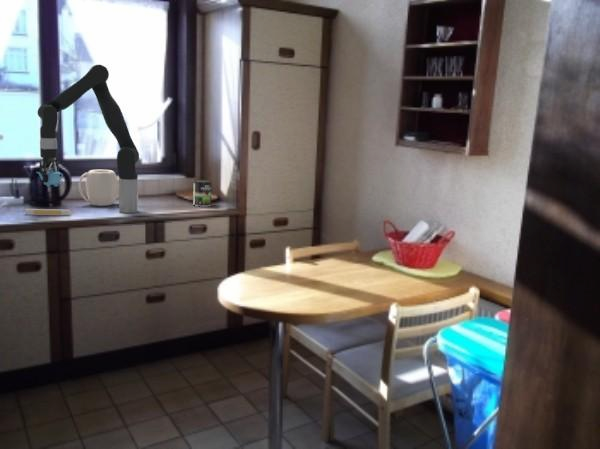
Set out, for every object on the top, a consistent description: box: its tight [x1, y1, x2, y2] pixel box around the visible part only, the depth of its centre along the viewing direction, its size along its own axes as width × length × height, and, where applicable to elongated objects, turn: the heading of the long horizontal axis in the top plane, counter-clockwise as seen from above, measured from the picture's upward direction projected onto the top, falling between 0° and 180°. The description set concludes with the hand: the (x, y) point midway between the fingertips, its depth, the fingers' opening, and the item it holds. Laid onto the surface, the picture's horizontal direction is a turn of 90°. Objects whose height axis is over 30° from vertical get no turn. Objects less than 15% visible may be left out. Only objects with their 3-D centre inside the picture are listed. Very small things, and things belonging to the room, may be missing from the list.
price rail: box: [24, 208, 71, 216], centre depth 269 cm, size 20×2×2 cm, turn 100°
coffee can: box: [192, 179, 213, 208], centre depth 322 cm, size 10×10×14 cm
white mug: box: [77, 168, 119, 207], centre depth 308 cm, size 16×27×19 cm, turn 126°
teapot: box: [36, 170, 64, 187], centre depth 274 cm, size 12×6×8 cm, turn 113°
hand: (49, 181), depth 274 cm, fingers closed on teapot, 8 cm apart
